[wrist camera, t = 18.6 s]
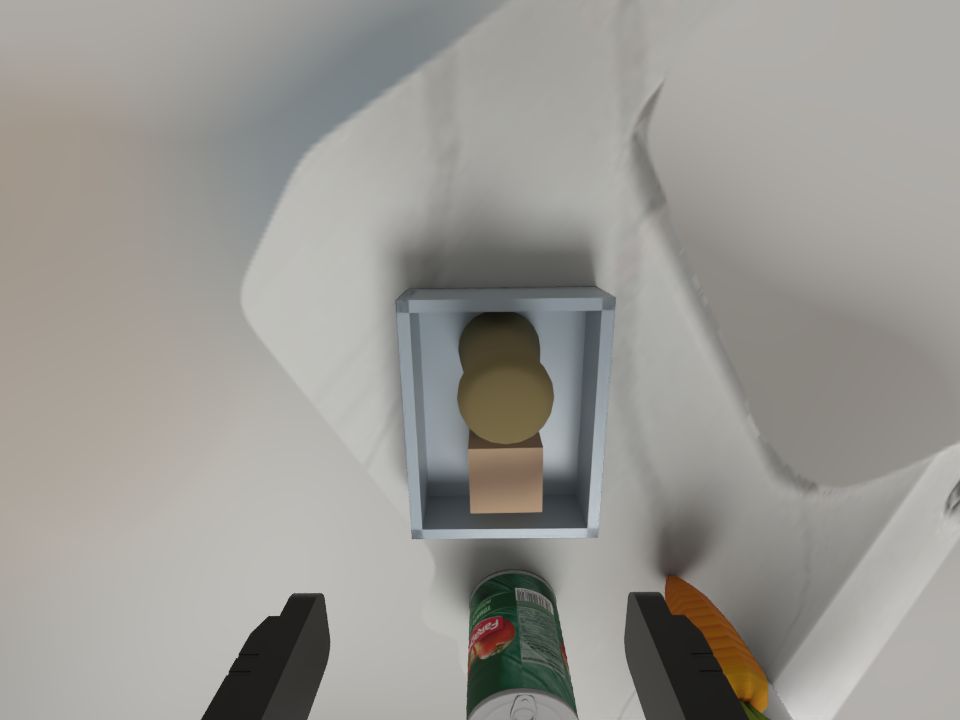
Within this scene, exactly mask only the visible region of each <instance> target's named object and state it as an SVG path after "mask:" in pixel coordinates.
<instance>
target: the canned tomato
mask: <svg viewBox="0 0 960 720" xmlns="http://www.w3.org/2000/svg"><path fill="white" fill-rule="evenodd" d="M468 648H469V653H468V682H467V708H466V709H467V720H579V719H578V715H577V710H576V704H575V698H574V694H573V687H572V684H571V676H570V673H569V666H568V663H567V656H566V653H565V647H564V641H563V637H562V630H561V627H560V621H559V615H558V611H557V606H556V598H555V595H554V592H553V590H552V589H551V587H550V586H549V585H548V584H547V583H546V582H545V581H544V580H543V579H542V578H540V577H539V576H537V575H535V574H532V573H530V572H526V571H521V570H507V571H501V572H498V573H495V574H492V575H490V576H488V577H487V578H485V579H484V580H482V581H481V582H480V583H479V584H478V585H477V586H476V588H475V589H474V591H473V593H472V595H471V598H470V621H469V647H468Z"/></svg>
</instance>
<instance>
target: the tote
mask: <svg viewBox="0 0 960 720" xmlns="http://www.w3.org/2000/svg"><path fill="white" fill-rule="evenodd" d="M615 302H616V297H614V296H612V295H610V294H609V293H607V292H605V291H603V290H602V289H600V288H598V287H596V286H590V287H511V288H432V289H408V290H406V291H405V292H404V293H403V294H402V295H401V296H400V297H399V298H398V299H396V314H397V328H398V343H399V358H400V372H401V387H402V401H403V416H404V430H405V445H406V459H407V474H408V488H409V503H410V518H411V531H412V539H470V538H598V528H599V515H600V501H601V488H602V475H603V461H604V448H605V435H606V421H607V408H608V395H609V381H610V368H611V355H612V342H613V328H614V315H615ZM484 312H516V313H518V314H520V315H522V316H524V317H525V318H526V319H527V320H528V321H529V322H530V323H531V324H532V325H533V327H534V329H535V330H536V332H537V334H538V336H539V343H540V363H541V364H542V365H543V366H544V367H545V369H546V371H547V373H548V375H549V377H550V379H551V381H552V383H553V390H554V402H553V406H552V411H551V415H550V417H549V418H548V420H547V422H546V424H545V425H544V427H543V428H542V429H540V430H539V433H540V437H541V441H542V445H543V496H542V512H525V513H471V514H470V487H469V460H468V443H469V428H468V426H467V424H466V422H465V421H464V419H463V417H462V416H461V414H460V411H459V406H458V402H457V394H458V386H459V381H460V379H461V377H462V375H463V373H464V372H463V369H462V365H461V362H460V357H459V352H458V348H459V340H460V337H461V335H462V332H463V330H464V328H465V326H466V325H467V324H468V323H469V322H470V321H471V320H472V319H473V318H474V317H476V316H478V315H480V314H482V313H484Z"/></svg>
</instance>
